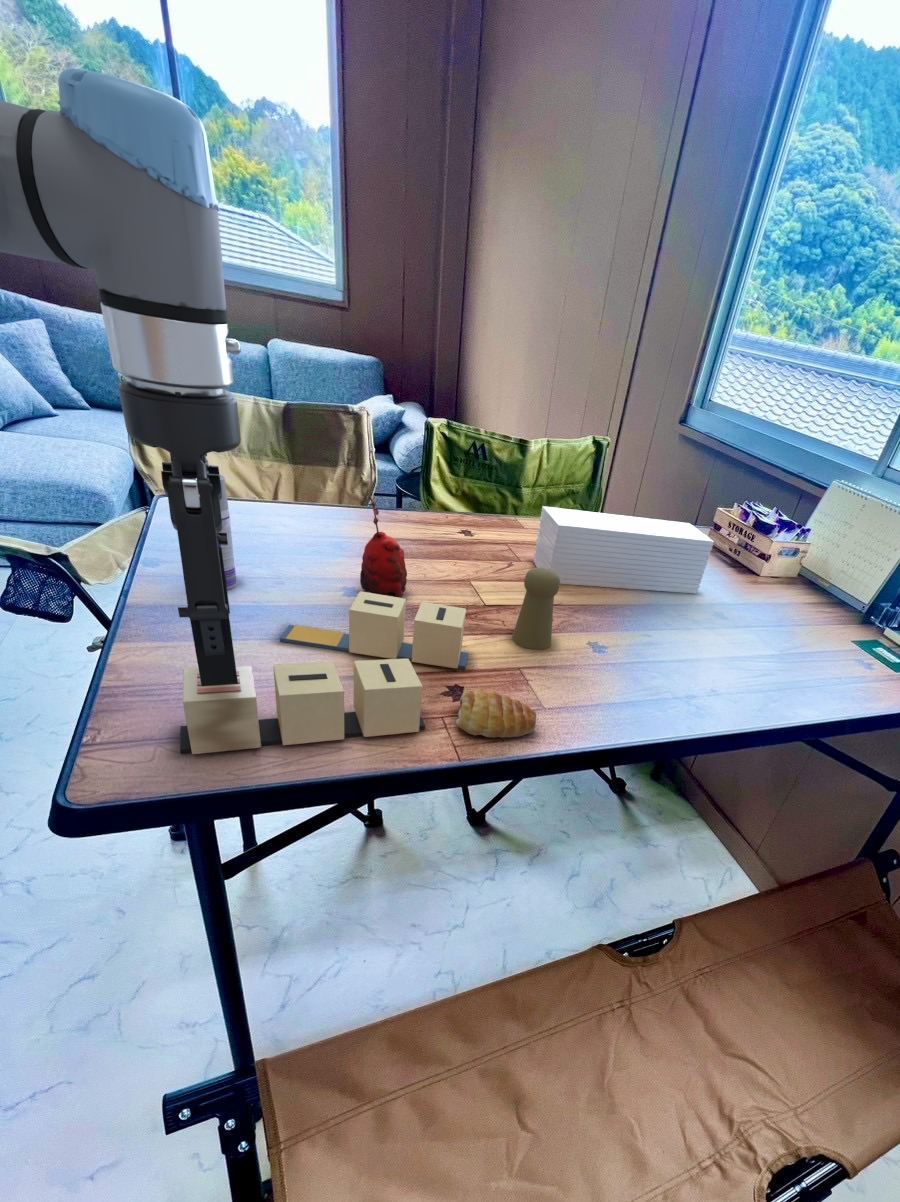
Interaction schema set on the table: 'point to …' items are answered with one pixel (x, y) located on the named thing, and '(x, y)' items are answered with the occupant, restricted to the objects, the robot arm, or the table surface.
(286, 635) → the right word mat
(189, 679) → the red striped cream cube
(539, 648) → the olive pawn figure
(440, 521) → the table surface
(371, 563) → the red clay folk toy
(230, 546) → the container
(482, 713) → the pastry
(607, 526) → the stack of papers
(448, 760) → the table surface
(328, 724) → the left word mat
